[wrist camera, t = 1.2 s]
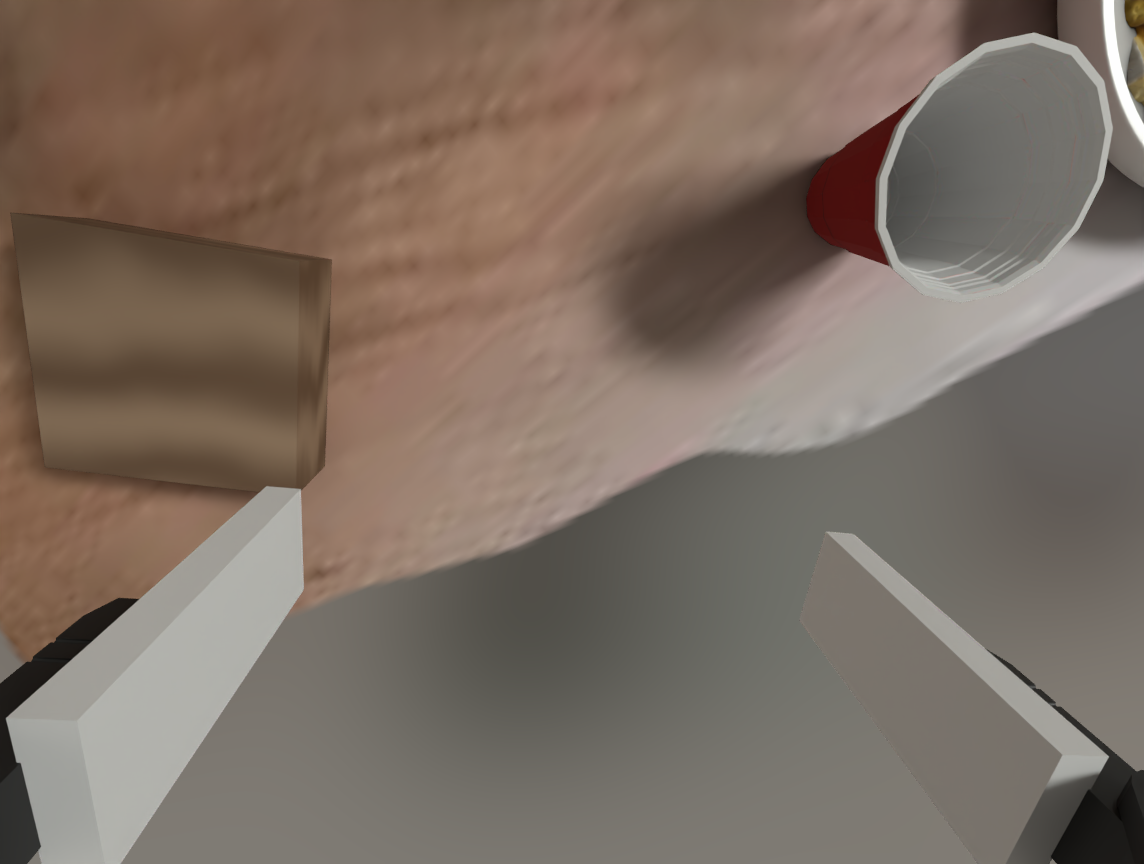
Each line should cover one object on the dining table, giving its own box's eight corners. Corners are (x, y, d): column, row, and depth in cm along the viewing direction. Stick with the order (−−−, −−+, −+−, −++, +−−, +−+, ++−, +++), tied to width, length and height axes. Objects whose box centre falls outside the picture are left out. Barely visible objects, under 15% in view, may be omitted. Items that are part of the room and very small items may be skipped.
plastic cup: (791, 313, 37) (907, 341, 26) (746, 150, 34) (857, 99, 22) (943, 249, 36) (1130, 247, 25) (913, 76, 33) (1114, -16, 22)
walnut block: (86, 218, 32) (10, 212, 27) (331, 259, 34) (299, 260, 29) (107, 439, 36) (44, 467, 32) (324, 466, 38) (295, 496, 33)
